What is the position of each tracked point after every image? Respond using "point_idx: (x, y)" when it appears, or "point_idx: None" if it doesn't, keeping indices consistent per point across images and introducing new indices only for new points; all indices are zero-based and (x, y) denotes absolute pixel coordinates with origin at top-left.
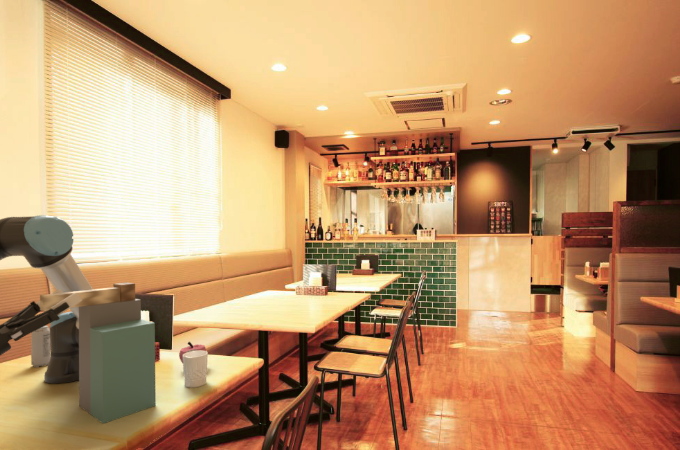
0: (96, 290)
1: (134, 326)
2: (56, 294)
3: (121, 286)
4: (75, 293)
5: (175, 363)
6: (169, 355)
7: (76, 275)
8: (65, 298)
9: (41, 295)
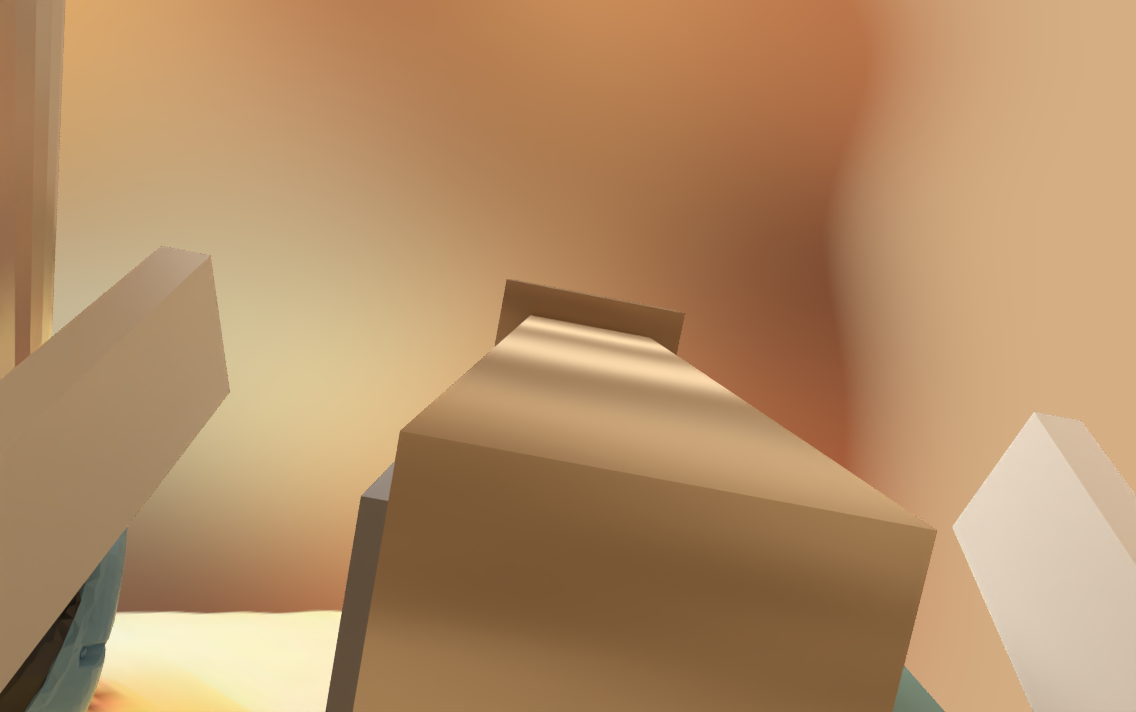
0: (666, 354)
1: (925, 690)
2: (702, 422)
3: (680, 327)
4: (1091, 440)
5: (239, 694)
6: (109, 640)
7: (60, 76)
8: (1123, 551)
9: (583, 463)
